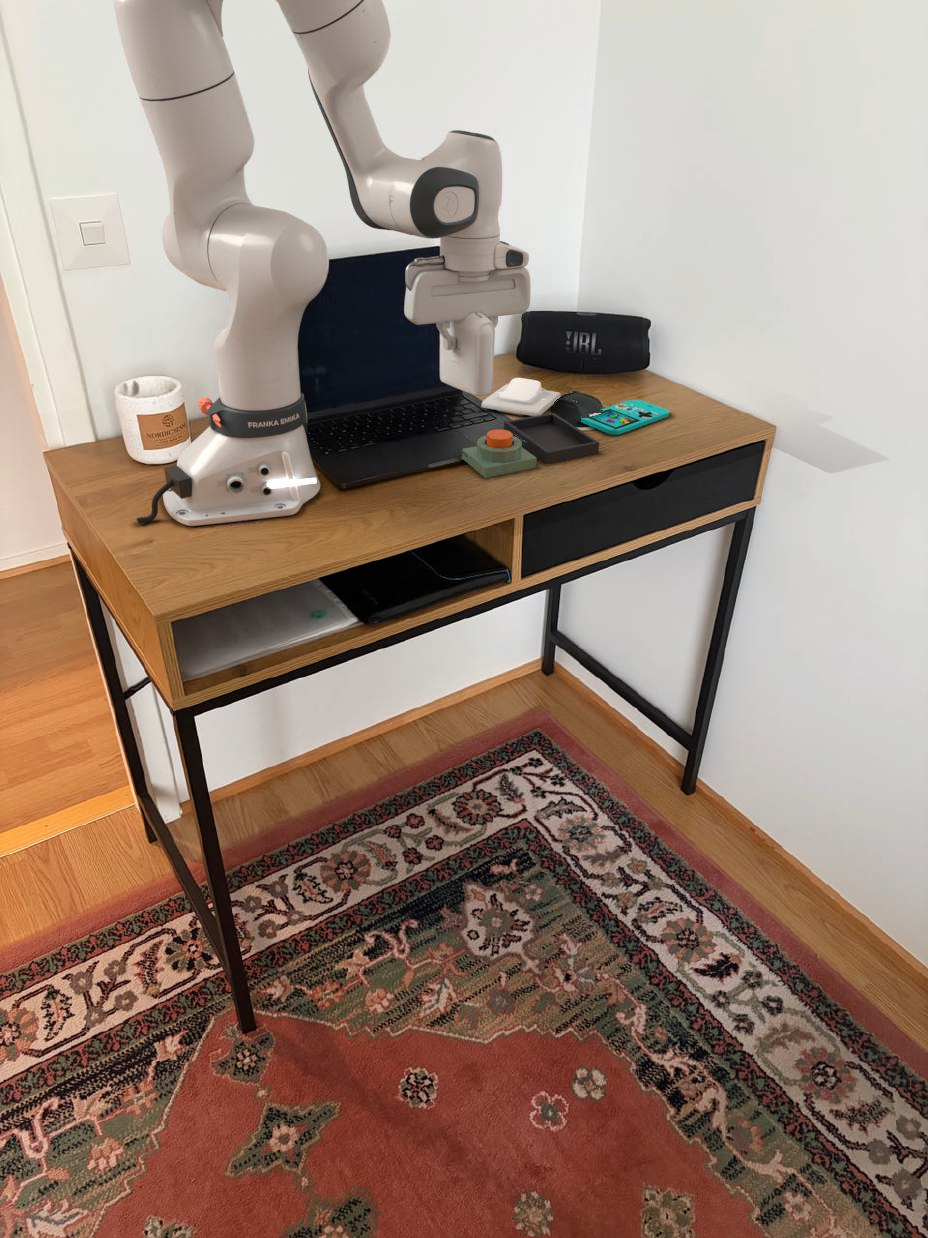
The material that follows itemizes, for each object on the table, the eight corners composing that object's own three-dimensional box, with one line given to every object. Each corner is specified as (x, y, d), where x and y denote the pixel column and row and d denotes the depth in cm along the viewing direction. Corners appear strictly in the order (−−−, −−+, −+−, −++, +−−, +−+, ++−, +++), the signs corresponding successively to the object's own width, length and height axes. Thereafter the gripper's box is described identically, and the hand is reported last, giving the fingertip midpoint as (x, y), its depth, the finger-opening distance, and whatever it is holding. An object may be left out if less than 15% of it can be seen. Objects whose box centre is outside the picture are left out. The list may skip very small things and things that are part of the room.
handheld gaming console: (672, 409, 160) (615, 430, 152) (671, 415, 160) (614, 436, 152) (635, 396, 165) (578, 415, 157) (635, 402, 166) (578, 421, 157)
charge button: (494, 451, 139) (494, 440, 138) (482, 442, 142) (482, 431, 141) (516, 447, 140) (517, 436, 139) (504, 438, 143) (505, 427, 142)
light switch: (562, 378, 166) (540, 397, 156) (560, 401, 168) (538, 420, 158) (507, 370, 169) (481, 387, 159) (506, 392, 171) (480, 411, 161)
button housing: (485, 478, 138) (485, 456, 136) (462, 458, 144) (462, 438, 142) (536, 467, 142) (537, 446, 140) (511, 449, 147) (512, 428, 146)
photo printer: (435, 381, 148) (436, 303, 141) (455, 376, 150) (457, 299, 143) (475, 399, 141) (478, 318, 135) (496, 393, 144) (500, 314, 137)
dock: (546, 464, 143) (547, 452, 142) (503, 432, 153) (504, 421, 152) (598, 453, 146) (599, 442, 145) (552, 423, 157) (553, 412, 156)
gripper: (414, 263, 128) (414, 360, 136) (538, 253, 136) (532, 345, 144) (396, 254, 133) (398, 348, 140) (517, 245, 141) (512, 334, 148)
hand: (466, 346), depth 142 cm, fingers closed on photo printer, 5 cm apart
